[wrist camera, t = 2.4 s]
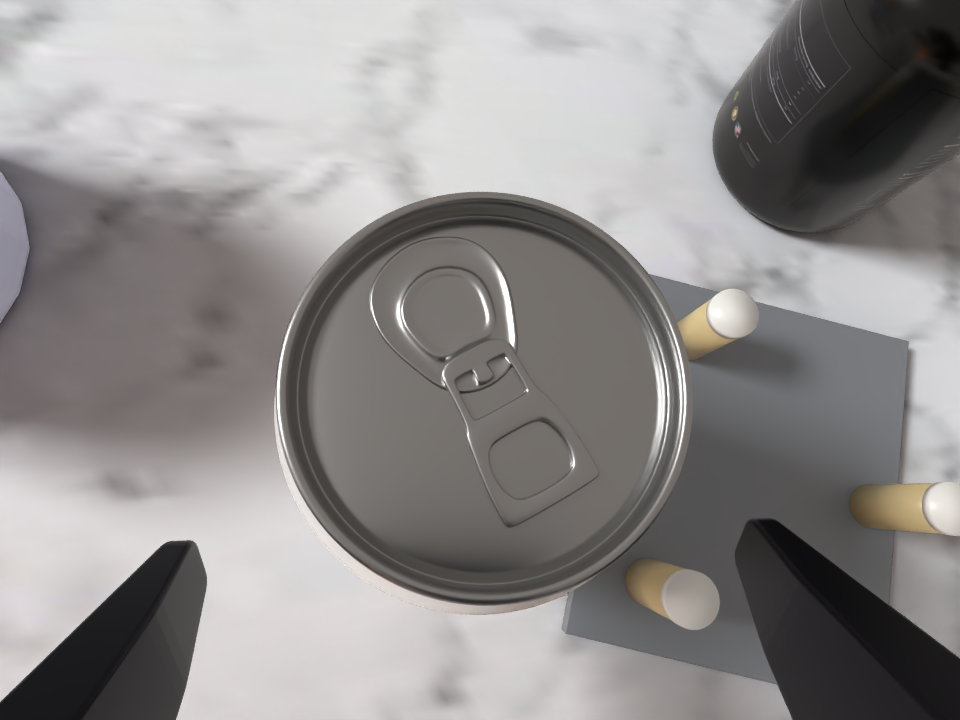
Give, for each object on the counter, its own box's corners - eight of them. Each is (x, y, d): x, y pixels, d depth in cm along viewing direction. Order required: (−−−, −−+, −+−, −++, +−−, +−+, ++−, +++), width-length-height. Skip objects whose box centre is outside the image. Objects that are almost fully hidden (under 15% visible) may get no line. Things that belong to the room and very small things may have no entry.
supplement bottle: (865, 85, 24) (1274, -297, 12) (885, 244, 23) (1370, -19, 11) (699, 71, 24) (963, -341, 12) (708, 233, 22) (1019, -56, 10)
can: (491, 319, 21) (572, 96, 9) (587, 487, 20) (815, 479, 8) (318, 408, 20) (157, 284, 8) (411, 591, 19) (384, 755, 7)
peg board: (866, 702, 19) (976, 755, 15) (561, 628, 19) (595, 663, 15) (895, 345, 22) (994, 314, 18) (629, 276, 22) (672, 230, 18)
